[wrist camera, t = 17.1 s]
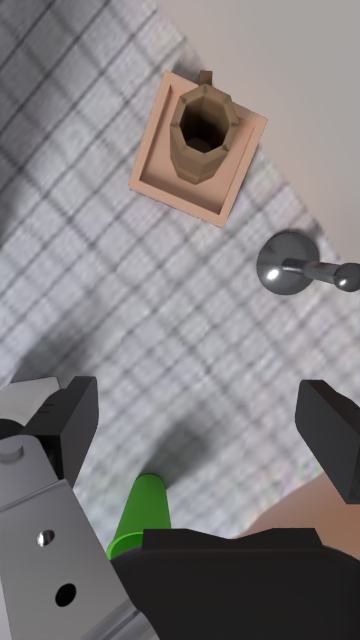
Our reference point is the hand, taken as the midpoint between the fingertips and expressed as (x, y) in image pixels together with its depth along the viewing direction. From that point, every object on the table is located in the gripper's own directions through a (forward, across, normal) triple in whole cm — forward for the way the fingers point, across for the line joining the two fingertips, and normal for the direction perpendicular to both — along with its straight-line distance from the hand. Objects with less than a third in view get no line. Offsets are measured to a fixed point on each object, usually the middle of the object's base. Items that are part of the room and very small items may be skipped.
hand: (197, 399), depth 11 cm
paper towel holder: (+28, -14, -3) cm, 32 cm away
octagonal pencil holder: (+27, -1, -15) cm, 31 cm away
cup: (+28, +4, +32) cm, 43 cm away
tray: (+28, -1, -16) cm, 32 cm away
